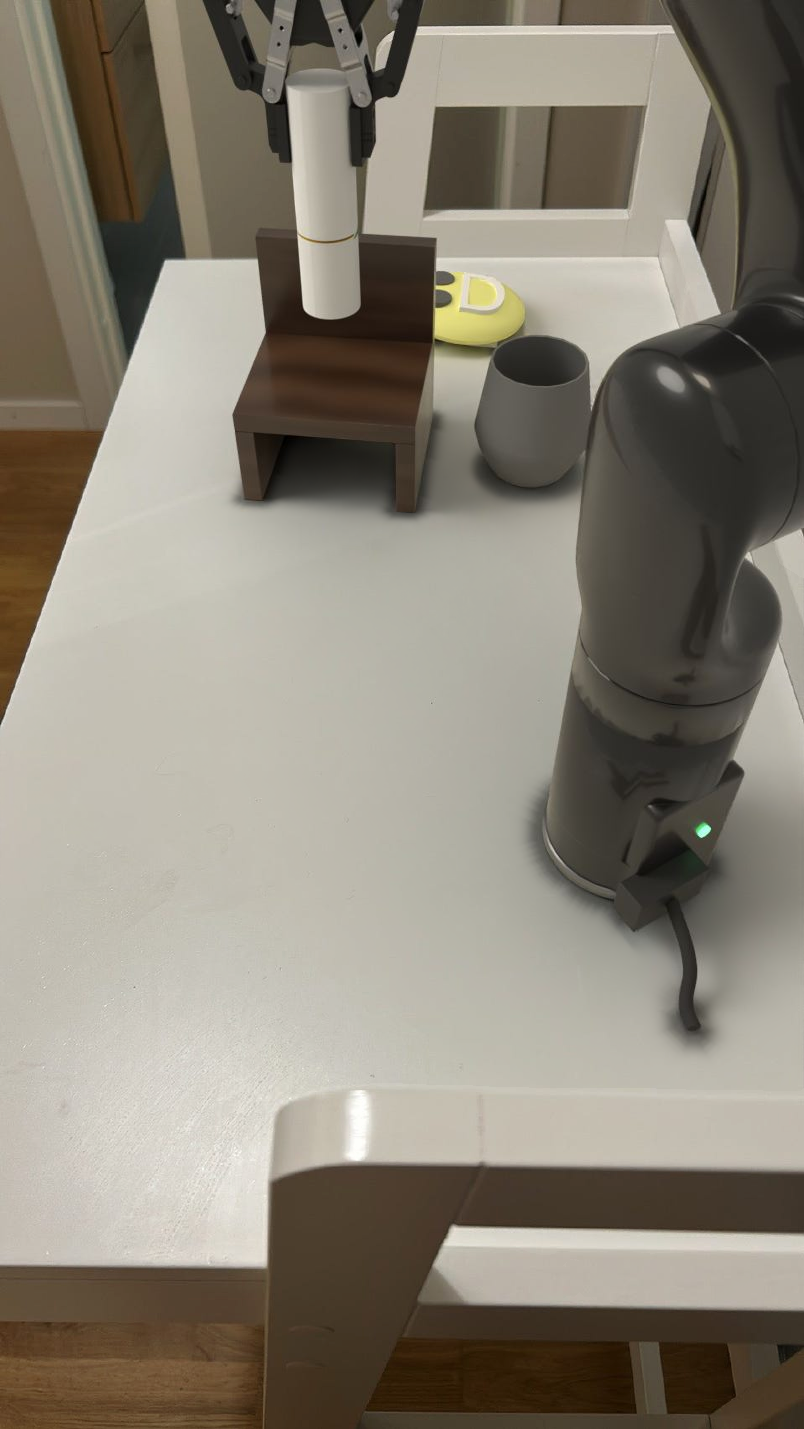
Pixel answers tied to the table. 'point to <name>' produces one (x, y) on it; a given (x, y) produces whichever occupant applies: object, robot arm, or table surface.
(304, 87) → the tube
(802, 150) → the robot arm
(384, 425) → the wooden doll chair
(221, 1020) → the table surface
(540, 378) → the cup
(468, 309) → the emoji
